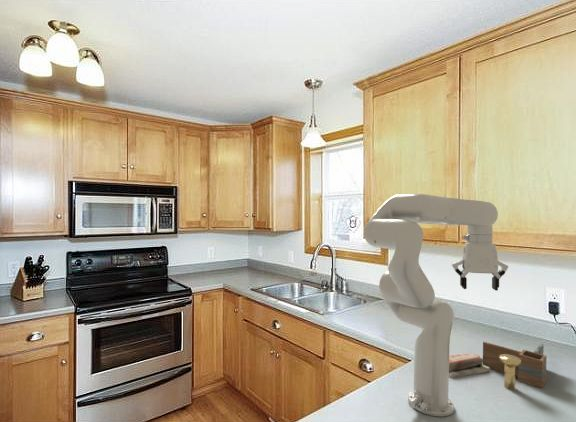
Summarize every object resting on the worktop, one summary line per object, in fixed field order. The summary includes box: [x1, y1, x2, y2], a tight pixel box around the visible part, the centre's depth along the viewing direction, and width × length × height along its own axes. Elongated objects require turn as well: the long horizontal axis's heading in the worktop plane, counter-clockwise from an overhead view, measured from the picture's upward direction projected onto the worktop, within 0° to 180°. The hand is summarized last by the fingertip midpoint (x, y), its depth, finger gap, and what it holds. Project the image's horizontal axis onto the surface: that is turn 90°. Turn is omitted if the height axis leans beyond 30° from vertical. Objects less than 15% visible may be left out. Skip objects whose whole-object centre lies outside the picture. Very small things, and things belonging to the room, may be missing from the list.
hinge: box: [482, 341, 548, 389], centre depth 124 cm, size 19×19×9 cm
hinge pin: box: [499, 354, 521, 391], centre depth 111 cm, size 6×6×10 cm
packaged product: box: [449, 352, 491, 378], centre depth 124 cm, size 18×5×10 cm
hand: (479, 288), depth 115 cm, fingers open, 9 cm apart
